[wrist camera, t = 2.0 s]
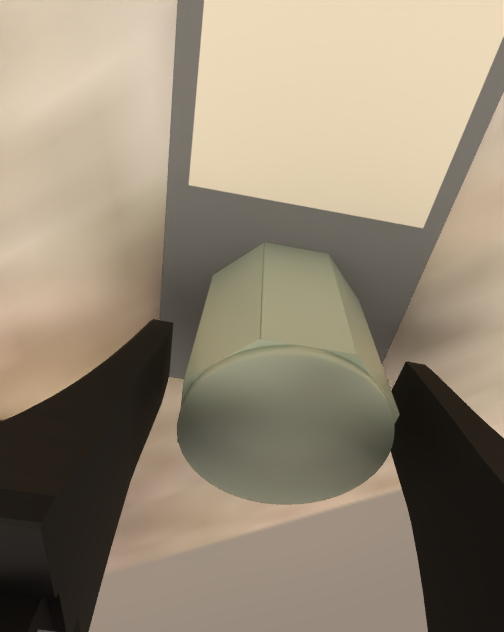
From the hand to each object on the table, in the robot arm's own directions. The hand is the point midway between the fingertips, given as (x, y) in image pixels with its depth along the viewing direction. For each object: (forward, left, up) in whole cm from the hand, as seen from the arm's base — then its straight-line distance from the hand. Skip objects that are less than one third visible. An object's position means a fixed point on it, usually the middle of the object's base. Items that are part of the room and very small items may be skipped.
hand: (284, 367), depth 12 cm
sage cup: (0, 0, -3) cm, 3 cm away
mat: (+4, 0, -4) cm, 5 cm away
